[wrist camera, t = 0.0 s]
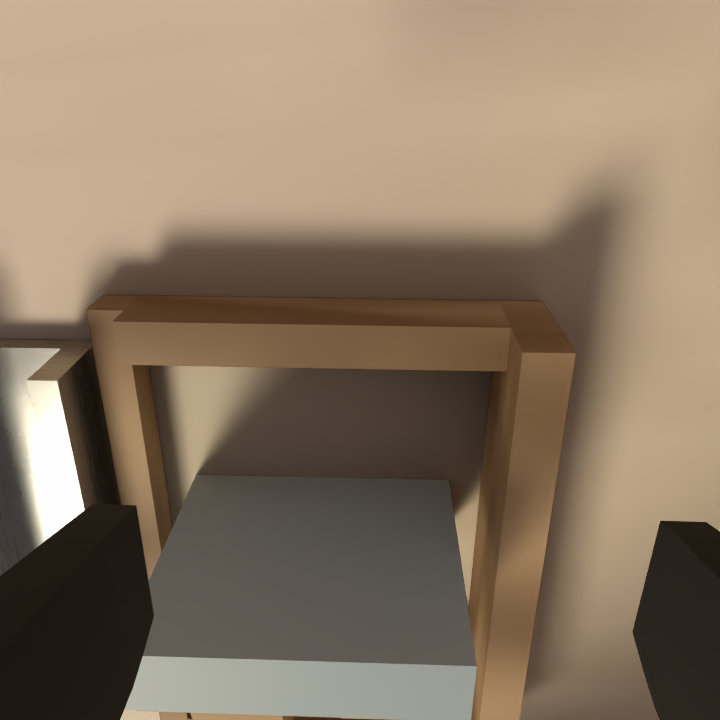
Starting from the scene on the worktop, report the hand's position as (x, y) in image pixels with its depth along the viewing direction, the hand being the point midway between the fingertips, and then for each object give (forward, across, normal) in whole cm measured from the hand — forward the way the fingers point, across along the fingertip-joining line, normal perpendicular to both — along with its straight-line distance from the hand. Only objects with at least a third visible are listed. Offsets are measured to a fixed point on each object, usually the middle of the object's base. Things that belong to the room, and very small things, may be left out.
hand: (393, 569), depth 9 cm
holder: (+10, +10, +6) cm, 16 cm away
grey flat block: (+10, +2, +6) cm, 12 cm away
